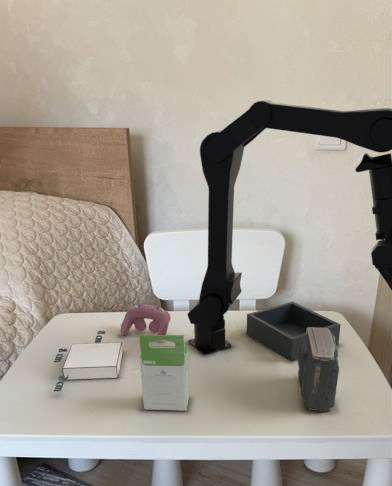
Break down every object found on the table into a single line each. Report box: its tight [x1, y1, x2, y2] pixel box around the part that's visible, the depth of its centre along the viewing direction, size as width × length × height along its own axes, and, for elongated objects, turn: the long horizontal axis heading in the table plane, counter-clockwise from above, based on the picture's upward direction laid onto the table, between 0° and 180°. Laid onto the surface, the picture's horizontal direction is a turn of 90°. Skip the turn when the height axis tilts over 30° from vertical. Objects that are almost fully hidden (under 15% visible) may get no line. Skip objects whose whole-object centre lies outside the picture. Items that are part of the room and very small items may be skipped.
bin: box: [246, 301, 341, 363], centre depth 103 cm, size 14×12×5 cm
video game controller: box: [120, 303, 171, 336], centre depth 107 cm, size 10×5×7 cm, turn 71°
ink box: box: [138, 334, 190, 412], centre depth 81 cm, size 7×4×13 cm, turn 84°
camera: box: [297, 327, 340, 413], centre depth 84 cm, size 11×6×10 cm, turn 172°
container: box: [53, 330, 124, 392], centre depth 95 cm, size 20×12×3 cm, turn 2°
